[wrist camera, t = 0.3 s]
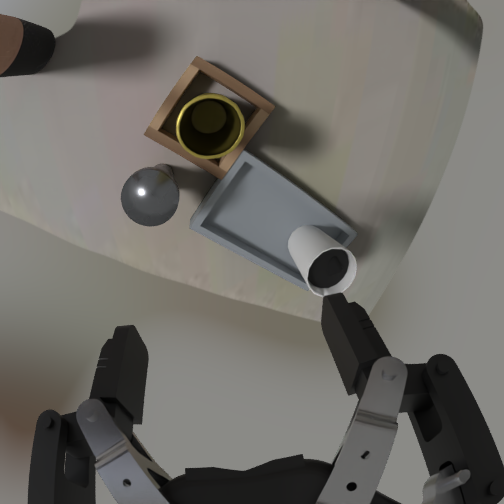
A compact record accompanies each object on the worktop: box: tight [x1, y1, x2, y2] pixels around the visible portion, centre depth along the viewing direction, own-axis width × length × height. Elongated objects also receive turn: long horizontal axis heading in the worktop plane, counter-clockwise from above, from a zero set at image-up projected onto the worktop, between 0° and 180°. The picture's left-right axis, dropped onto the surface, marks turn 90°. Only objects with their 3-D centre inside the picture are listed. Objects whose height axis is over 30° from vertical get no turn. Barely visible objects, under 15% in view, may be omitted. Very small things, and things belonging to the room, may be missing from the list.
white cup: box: [288, 225, 357, 297], centre depth 37 cm, size 7×7×10 cm
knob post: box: [121, 164, 179, 226], centre depth 31 cm, size 6×6×9 cm
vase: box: [176, 93, 245, 159], centre depth 26 cm, size 6×6×14 cm
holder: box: [144, 56, 275, 180], centre depth 30 cm, size 11×11×3 cm
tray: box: [190, 149, 358, 291], centre depth 39 cm, size 12×21×3 cm, turn 54°
